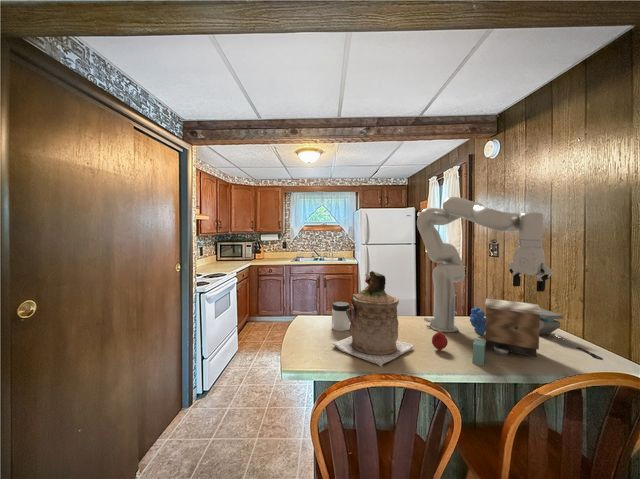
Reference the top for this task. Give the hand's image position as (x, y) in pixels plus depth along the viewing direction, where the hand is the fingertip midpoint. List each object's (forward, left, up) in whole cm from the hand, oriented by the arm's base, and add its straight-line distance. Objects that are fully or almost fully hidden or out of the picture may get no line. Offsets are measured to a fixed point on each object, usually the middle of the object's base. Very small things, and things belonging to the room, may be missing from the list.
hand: (528, 288), depth 113 cm
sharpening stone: (+4, +36, -26) cm, 45 cm away
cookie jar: (-52, -28, -26) cm, 65 cm away
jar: (-74, -14, -26) cm, 80 cm away
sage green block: (-15, -11, -26) cm, 32 cm away
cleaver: (+15, +22, -26) cm, 38 cm away
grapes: (-18, +16, -26) cm, 36 cm away
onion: (-29, -15, -26) cm, 42 cm away
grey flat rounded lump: (-8, -4, -26) cm, 27 cm away
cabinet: (-5, -1, -26) cm, 26 cm away
